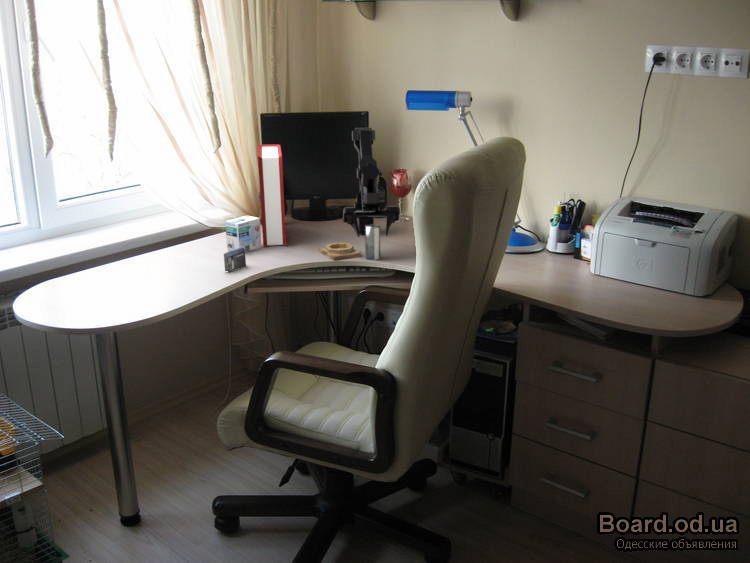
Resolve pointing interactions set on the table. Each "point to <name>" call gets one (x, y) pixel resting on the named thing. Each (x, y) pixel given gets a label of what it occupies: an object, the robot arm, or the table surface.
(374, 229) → the shaft
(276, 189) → the book
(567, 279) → the table surface
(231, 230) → the light bulb box
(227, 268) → the mini dv tape
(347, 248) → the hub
